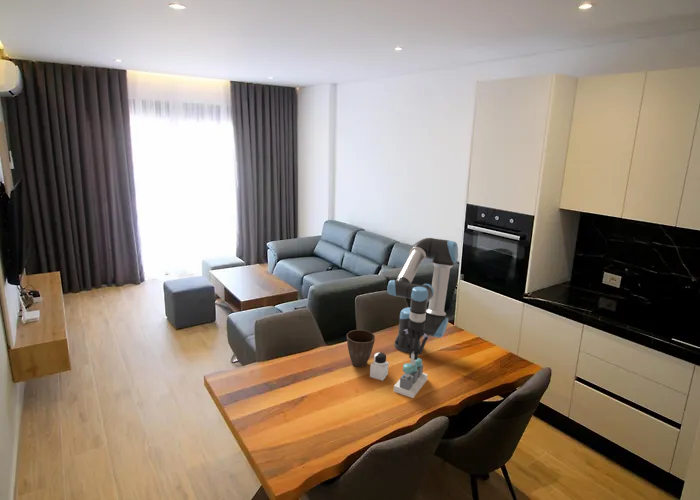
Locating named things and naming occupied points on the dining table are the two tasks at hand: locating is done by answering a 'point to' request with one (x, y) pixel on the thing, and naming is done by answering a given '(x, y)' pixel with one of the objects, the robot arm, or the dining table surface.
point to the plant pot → (360, 346)
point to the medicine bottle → (379, 367)
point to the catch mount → (411, 383)
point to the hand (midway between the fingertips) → (412, 364)
